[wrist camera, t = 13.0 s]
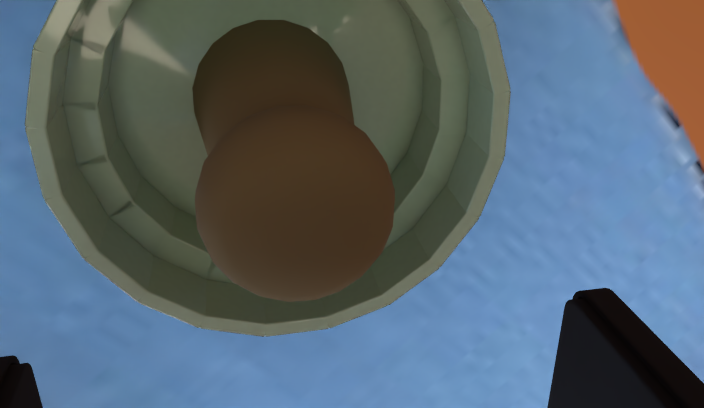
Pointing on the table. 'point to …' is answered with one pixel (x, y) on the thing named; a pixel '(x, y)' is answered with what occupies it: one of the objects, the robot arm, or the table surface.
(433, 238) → the bowl
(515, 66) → the table surface
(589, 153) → the table surface
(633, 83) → the table surface
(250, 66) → the brown rounded tall piece
